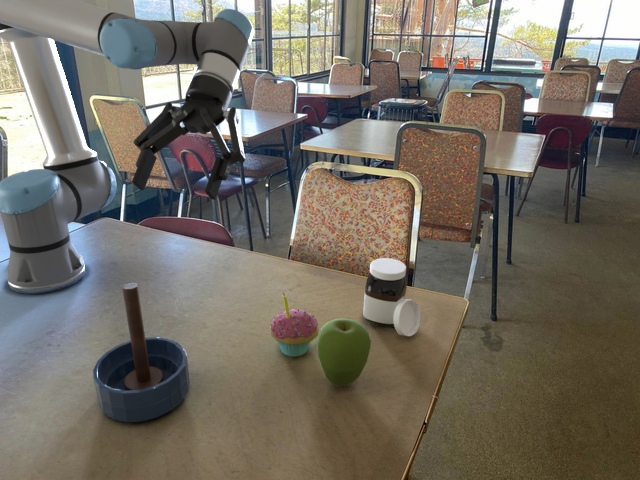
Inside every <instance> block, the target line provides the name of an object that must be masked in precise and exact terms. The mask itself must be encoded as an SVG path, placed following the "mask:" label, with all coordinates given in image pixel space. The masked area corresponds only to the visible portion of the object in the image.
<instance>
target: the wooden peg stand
mask: <svg viewBox="0 0 640 480" xmlns="http://www.w3.org/2000/svg"><path fill="white" fill-rule="evenodd" d="M121 288H122V289H121V290H122V295H123V299H124V300H123V301H124V306H125V307H124V308H125V313H126V321H127V327H128V332H129V339H130V340H131V346H132V352H133V358H134V365H135V370H133V371H132V372H130V373H129V374H128V375H127V376H126V378H125V380H124V385H125V390H126V391H130V390H141V389H145V388H148V387H152V386H155V385H157V384H159V383H161V382H163V381H164V379H163V373H162V371H161V370H160V369H159V368H157V367H152V366H149V361H148V354H147V347H146V340H145V338H146V335H145V327H144V319H143V313H142V306H141V299H140V292H139V285H138V283H136V282H127V283H125V284H123V285H122V287H121Z"/></svg>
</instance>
